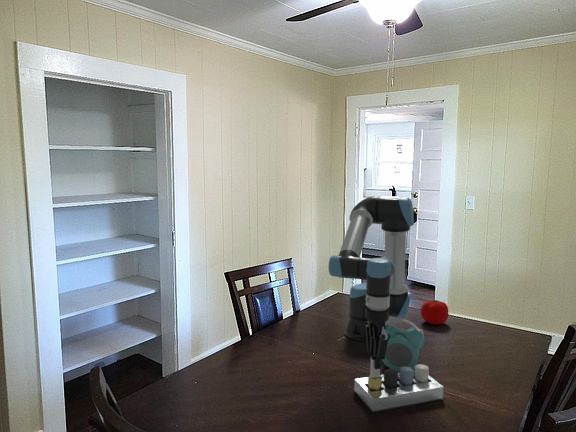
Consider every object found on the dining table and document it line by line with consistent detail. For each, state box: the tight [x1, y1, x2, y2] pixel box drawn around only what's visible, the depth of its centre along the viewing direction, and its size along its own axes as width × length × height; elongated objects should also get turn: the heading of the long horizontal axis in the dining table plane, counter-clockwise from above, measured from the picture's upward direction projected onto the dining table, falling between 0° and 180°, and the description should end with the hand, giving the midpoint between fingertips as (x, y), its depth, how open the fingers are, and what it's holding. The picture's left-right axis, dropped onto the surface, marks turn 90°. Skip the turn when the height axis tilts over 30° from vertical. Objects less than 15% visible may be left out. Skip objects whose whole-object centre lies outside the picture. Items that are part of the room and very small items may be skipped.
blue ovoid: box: [400, 367, 415, 386], centre depth 144 cm, size 4×4×6 cm
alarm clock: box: [381, 317, 425, 372], centre depth 162 cm, size 17×10×20 cm, turn 71°
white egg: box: [414, 363, 430, 384], centre depth 146 cm, size 4×4×6 cm
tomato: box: [420, 299, 449, 326], centre depth 209 cm, size 12×13×12 cm
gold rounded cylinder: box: [367, 374, 382, 392], centre depth 140 cm, size 4×4×6 cm
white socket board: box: [353, 369, 445, 413], centre depth 143 cm, size 13×26×4 cm, turn 107°
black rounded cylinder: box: [383, 368, 398, 389], centre depth 142 cm, size 4×4×6 cm
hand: (374, 376), depth 140 cm, fingers closed
